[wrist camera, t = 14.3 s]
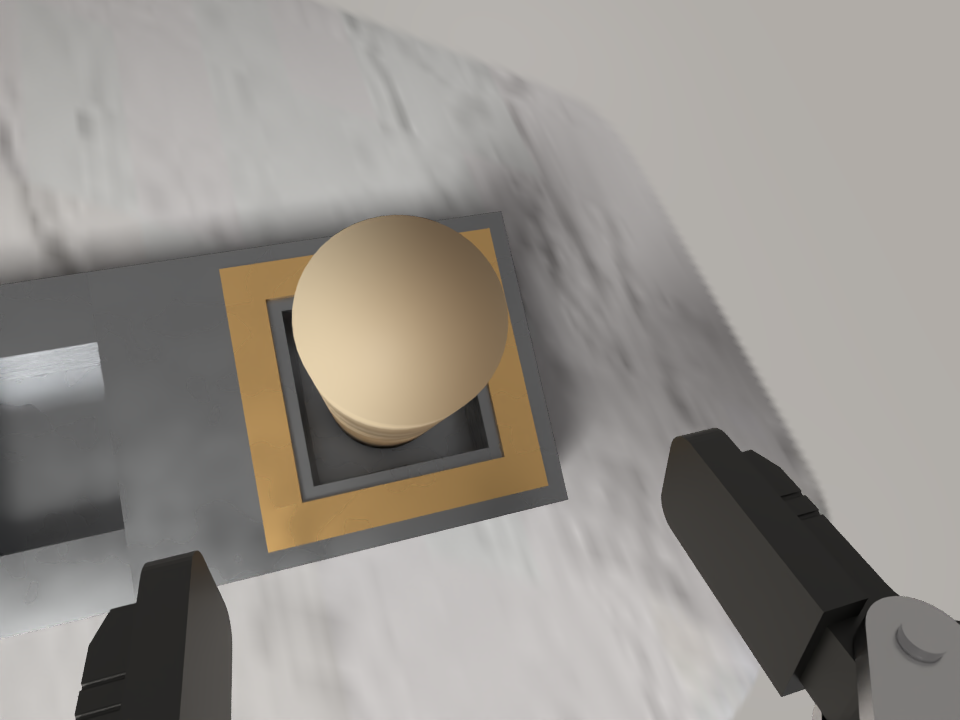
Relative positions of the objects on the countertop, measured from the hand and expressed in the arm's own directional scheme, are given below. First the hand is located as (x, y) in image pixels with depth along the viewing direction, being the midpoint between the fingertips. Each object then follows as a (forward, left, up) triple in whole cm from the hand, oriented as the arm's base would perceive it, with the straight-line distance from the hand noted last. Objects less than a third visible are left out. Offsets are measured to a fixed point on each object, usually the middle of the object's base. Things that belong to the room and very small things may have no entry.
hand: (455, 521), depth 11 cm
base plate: (-6, +4, -14) cm, 15 cm away
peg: (0, +4, -13) cm, 13 cm away
